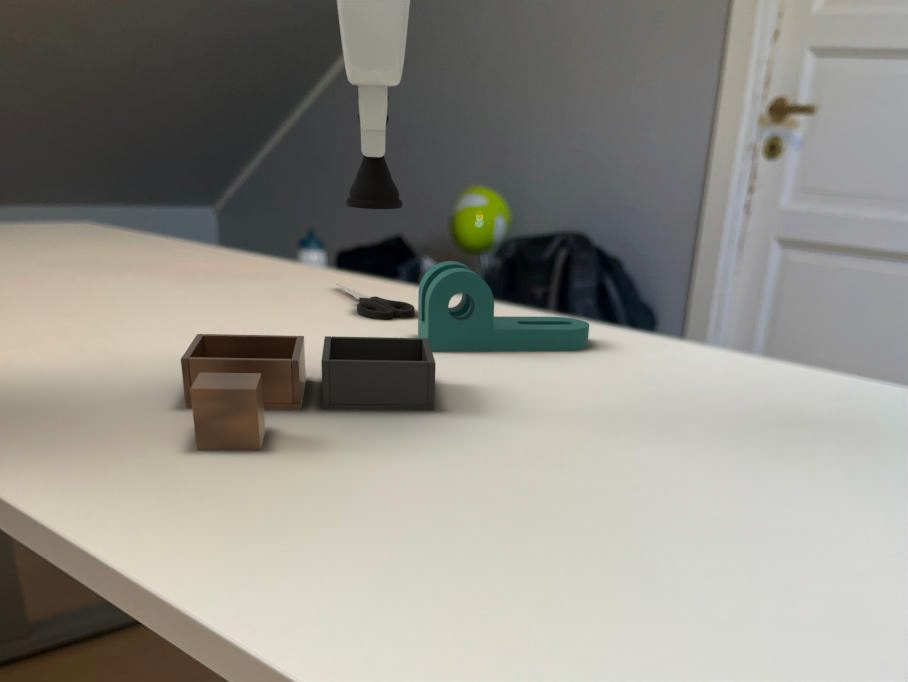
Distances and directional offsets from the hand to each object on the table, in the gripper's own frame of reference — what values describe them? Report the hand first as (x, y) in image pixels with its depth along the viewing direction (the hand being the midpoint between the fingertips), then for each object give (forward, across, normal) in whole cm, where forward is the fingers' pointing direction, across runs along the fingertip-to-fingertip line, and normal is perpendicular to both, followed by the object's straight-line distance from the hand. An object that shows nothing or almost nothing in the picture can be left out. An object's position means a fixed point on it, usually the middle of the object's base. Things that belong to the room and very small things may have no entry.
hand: (373, 155), depth 75 cm
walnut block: (+19, +12, -11) cm, 25 cm away
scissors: (+19, -43, -1) cm, 47 cm away
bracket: (+19, -22, +14) cm, 32 cm away
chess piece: (+4, 0, 0) cm, 4 cm away
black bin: (+19, -1, 0) cm, 19 cm away
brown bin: (+19, -1, -11) cm, 22 cm away
